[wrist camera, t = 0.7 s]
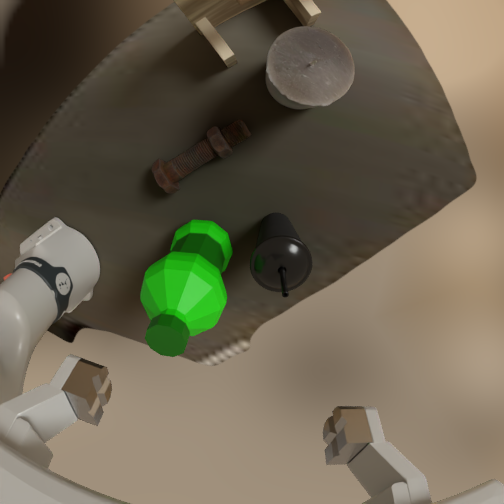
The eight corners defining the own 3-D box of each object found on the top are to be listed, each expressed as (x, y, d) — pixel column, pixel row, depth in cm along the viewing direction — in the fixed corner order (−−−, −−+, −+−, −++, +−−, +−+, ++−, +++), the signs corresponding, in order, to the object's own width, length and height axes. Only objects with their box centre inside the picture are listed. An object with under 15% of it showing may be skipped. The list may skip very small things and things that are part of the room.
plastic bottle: (174, 209, 47) (108, 292, 25) (238, 214, 48) (219, 306, 25) (176, 263, 52) (126, 366, 29) (234, 269, 52) (218, 380, 29)
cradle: (315, 23, 34) (346, -24, 18) (226, 69, 38) (205, 39, 21) (284, -16, 31) (296, -75, 14) (195, 29, 35) (160, -16, 18)
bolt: (249, 130, 44) (170, 178, 47) (234, 106, 40) (151, 159, 43) (259, 148, 40) (172, 200, 43) (243, 122, 36) (151, 179, 39)
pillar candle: (311, 42, 35) (332, 11, 22) (339, 96, 39) (374, 88, 25) (253, 66, 38) (248, 41, 24) (283, 120, 41) (292, 120, 28)
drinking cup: (261, 197, 46) (262, 252, 28) (305, 212, 47) (333, 273, 29) (246, 240, 49) (239, 313, 31) (289, 253, 50) (304, 330, 32)
